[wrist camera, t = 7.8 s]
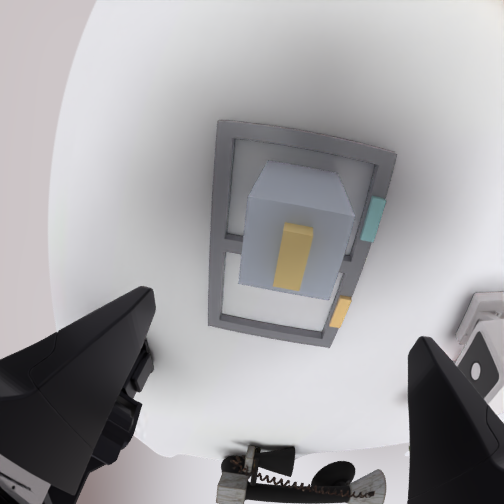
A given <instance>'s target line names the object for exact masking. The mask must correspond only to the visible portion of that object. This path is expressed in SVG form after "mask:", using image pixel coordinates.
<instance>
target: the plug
mask: <svg viewBox="0 0 504 504" xmlns="http://www.w3.org/2000/svg"><path fill="white" fill-rule="evenodd" d="M354 220H355V214H354V212H353V209H352V206H351V204H350V201H349V199H348V196H347V194H346V191H345V189H344V186H343V184H342V182H341V179H340V177H339V174H338V173H335V172H330V171H325V170H320V169H315V168H310V167H305V166H299V165H294V164H288V163H282V162H276V161H270V160H268V161H267V163H266V165H265V167H264V168H263V170H262V172H261V174H260V176H259V177H258V179H257V181H256V183H255V185H254V186H253V188H252V190H251V192H250V194H249V196H248V201H247V210H246V219H245V228H244V237H243V246H242V255H241V264H240V274H239V283H238V284H242V285H248V286H253V287H258V288H263V289H268V290H274V291H279V292H284V293H290V294H295V295H301V296H307V297H312V298H318V299H324V300H329V299H330V296H331V293H332V290H333V287H334V284H335V281H336V279H337V276H338V272H339V269H340V266H341V263H342V260H343V257H344V254H345V251H346V247H347V244H348V241H349V238H350V234H351V231H352V227H353V224H354Z"/></svg>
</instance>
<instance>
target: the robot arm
mask: <svg viewBox="0 0 504 504" xmlns="http://www.w3.org/2000/svg"><path fill="white" fill-rule="evenodd" d="M155 310H156V305H155V298H154V292H153V289H151V288H149V287H145V286H140V287H138V288H136V289H134V290H132V291H130V292H128V293H127V294H125V295H123V296H121V297H119V298H117V299H115V300H114V301H112V302H110V303H108V304H106V305H104V306H103V307H101V308H99V309H97V310H95V311H93V312H92V313H90V314H88V315H86V316H84V317H82V318H81V319H79V320H77V321H75V322H73V323H72V324H70V325H68V326H66V327H64V328H63V329H61V330H59V331H58V332H55V333H54V334H52V335H50V336H48V337H47V338H45V339H43V340H41V341H39V342H37V343H35V344H33V345H31V346H29V347H27V348H25V349H23V350H21V351H18V352H16V353H14V354H11V355H9V356H7V357H5V358H3V359H0V504H76V502H77V499H78V497H79V495H80V493H81V490H82V488H83V486H84V484H85V481H86V479H87V477H88V475H89V473H90V472H92V471H94V470H96V469H98V468H100V467H102V466H104V465H106V464H107V465H110V464H112V463H113V462H115V461H116V460H117V458H118V455H119V453H120V450H122V449H124V448H125V447H126V445H128V443H129V442H130V440H131V438H132V436H133V434H134V431H135V428H136V424H137V421H138V417H139V414H140V410H141V407H142V404H141V403H140V402H137V401H135V400H134V399H133V398H134V396H135V394H136V392H141V391H142V389H143V387H144V385H145V383H146V381H147V379H148V376H149V374H150V373H152V372H153V364H152V360H151V356H150V353H149V349H148V345H147V341H146V339H145V338H146V335H147V332H148V330H149V327H150V324H151V322H152V319H153V317H154V314H155ZM408 408H409V431H410V469H409V490H408V501H407V504H504V423H503V422H502V421H501V420H500V419H499V417H498V416H497V415H496V414H495V412H494V411H493V410H492V409H491V407H490V406H489V405H488V404H487V402H486V401H485V400H484V398H483V397H482V396H481V395H480V394H479V392H478V391H477V390H476V389H475V387H474V386H473V385H472V384H471V383H470V381H469V380H468V379H467V378H466V377H465V375H464V374H463V373H462V372H461V371H460V369H459V368H458V367H457V366H456V365H455V364H454V363H453V361H452V360H451V359H450V358H449V357H448V356H447V355H446V353H445V352H444V351H443V350H442V349H441V348H440V347H439V346H438V344H437V343H436V342H435V341H434V340H433V339H432V338H431V337H426V336H421V337H419V338H418V340H417V341H416V343H415V344H414V346H413V347H412V349H411V350H410V352H409V355H408Z"/></svg>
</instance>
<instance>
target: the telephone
mask: <svg viewBox="0 0 504 504" xmlns="http://www.w3.org/2000/svg"><path fill="white" fill-rule="evenodd" d="M260 451H261V449H260V448H259V447H257V448H256V449H255V446H249V447H248V450H247V454H246V458H245V455H242V457H240V456H229V457H227V458H225V459H224V460H223V462H222V464H221V469H222V476H221V478H220V481H219V483H218V488H217V498H216V503H219V504H244V501H245V500H256V501H266V502H279V503H305V504H307V503H308V504H312V503H315V504H317V503H343V502H345V503H348V504H383V503H384V500H385V495H386V480H385V476H384V474H383V472H382V471H381V470H379V469H378V470H375V471H373V472H372V473H370V474H368V475H366V476H364V477H362V478H360V479H358V480H357V481H354V482H352V480H353V478H354V475H355V467H354V466H353V465H352V463H350V462H347V461H337V462H334V463H331V464H328V465H327V466H325V467H323V468H322V469H321V470H320V471H318V473H317V474H316V475H315V476H314V478H313V480H312V483H311V487H310V484H309V485H308V486H303V485H304V483H301V485H300V486H297V482H294V483H293V485H292V486H290V485H288V486H286V485H287V484H288V483H290V481H289V480H287V482H286V483H285V484H284V485H283V479H282V478H281V479H280V481H279V482H277V483H276V482H275V479H276V478H275V477H273V478H272V480H271V481H269V476H268V475H266V476H265V478H264V479H262V476H261V473H259V474H258V475H257V472H258V467H261V468H264V469H266V470H269V471H272V472H276V473H279V474H282V475H285V476H289V477H291V475H292V472H293V466H294V460H295V448H290V449H284V450H277V451H270V452H261V453H260ZM250 476H251V482H249V481H248V479H249V478H250ZM259 476H260V480H261V481H264V480H265V479H266V478H267V483H271V482H272V481H273V482H274V484H275V485H269V484H259V483H256V480H257V477H259ZM351 482H352V483H351ZM279 483H281V485H278V484H279ZM294 485H295V486H294Z"/></svg>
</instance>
